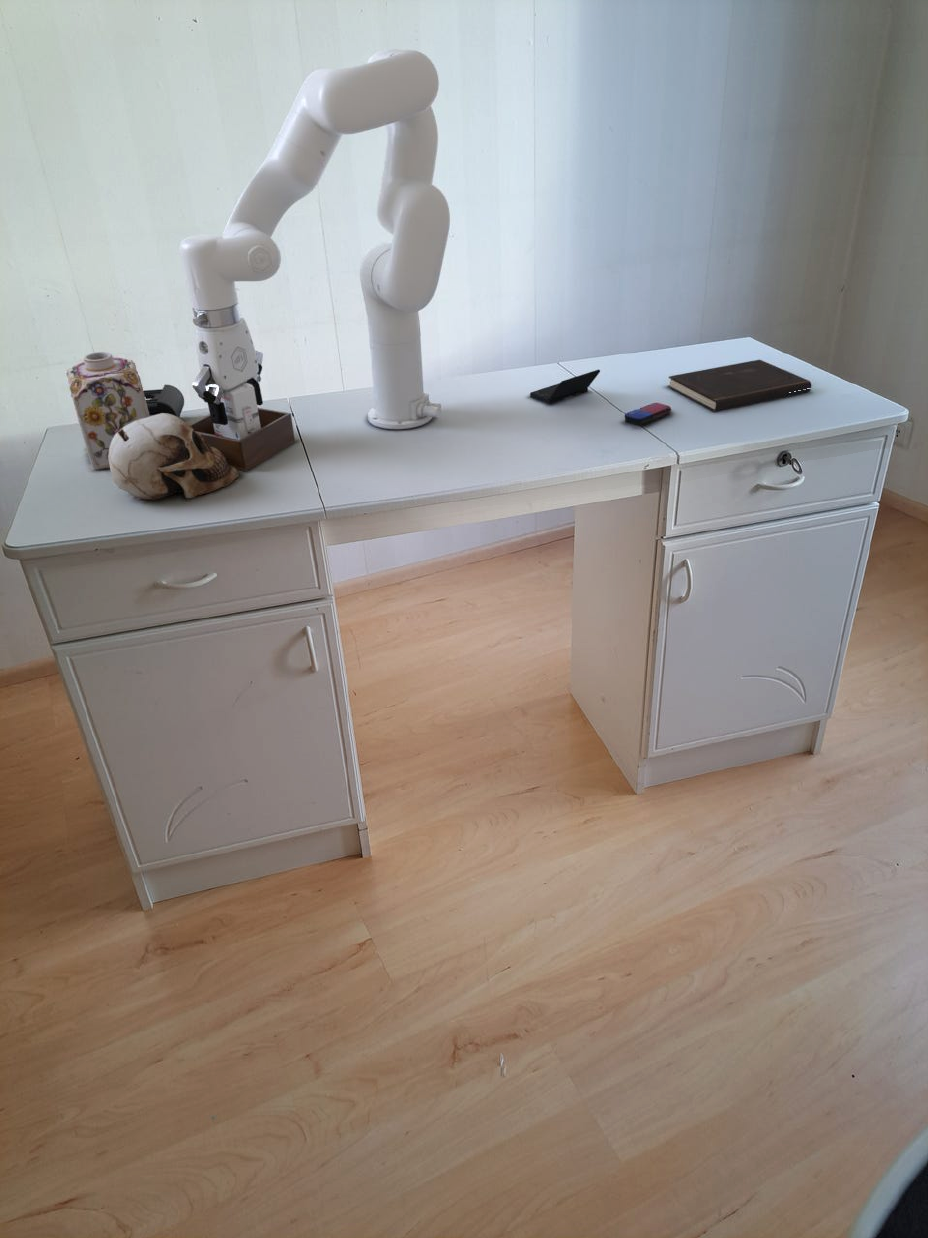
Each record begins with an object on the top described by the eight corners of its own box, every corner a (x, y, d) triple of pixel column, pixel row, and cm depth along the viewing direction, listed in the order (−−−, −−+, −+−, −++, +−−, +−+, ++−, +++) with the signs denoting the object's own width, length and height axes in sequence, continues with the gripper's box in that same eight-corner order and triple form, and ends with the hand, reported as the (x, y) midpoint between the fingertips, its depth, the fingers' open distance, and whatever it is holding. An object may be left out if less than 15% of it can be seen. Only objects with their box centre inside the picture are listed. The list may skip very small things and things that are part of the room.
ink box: (215, 445, 159) (202, 382, 152) (238, 437, 161) (226, 375, 155) (243, 457, 154) (231, 393, 147) (266, 449, 157) (255, 385, 150)
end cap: (181, 435, 164) (173, 400, 161) (142, 438, 164) (134, 403, 160) (188, 416, 173) (180, 382, 169) (151, 418, 172) (143, 385, 168)
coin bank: (247, 471, 149) (225, 399, 141) (183, 525, 138) (155, 450, 129) (177, 461, 155) (152, 391, 147) (110, 511, 144) (79, 439, 135)
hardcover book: (667, 387, 178) (668, 376, 177) (757, 369, 186) (759, 359, 184) (715, 412, 166) (716, 401, 165) (810, 393, 173) (812, 381, 172)
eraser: (657, 408, 169) (658, 399, 168) (674, 413, 166) (675, 404, 165) (620, 422, 163) (621, 413, 162) (637, 428, 160) (638, 419, 159)
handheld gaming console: (559, 374, 181) (581, 343, 173) (581, 400, 181) (605, 370, 172) (524, 397, 176) (546, 366, 167) (548, 423, 175) (571, 394, 167)
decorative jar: (88, 447, 161) (60, 350, 150) (152, 436, 164) (129, 341, 154) (92, 472, 152) (62, 370, 141) (161, 459, 155) (136, 360, 145)
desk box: (295, 441, 160) (291, 413, 157) (246, 471, 150) (240, 441, 147) (236, 430, 166) (231, 402, 163) (185, 458, 155) (179, 429, 152)
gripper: (200, 333, 137) (222, 434, 146) (267, 303, 149) (284, 399, 159) (164, 328, 140) (189, 428, 149) (233, 300, 152) (252, 394, 162)
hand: (238, 413), depth 154 cm, fingers open, 9 cm apart
